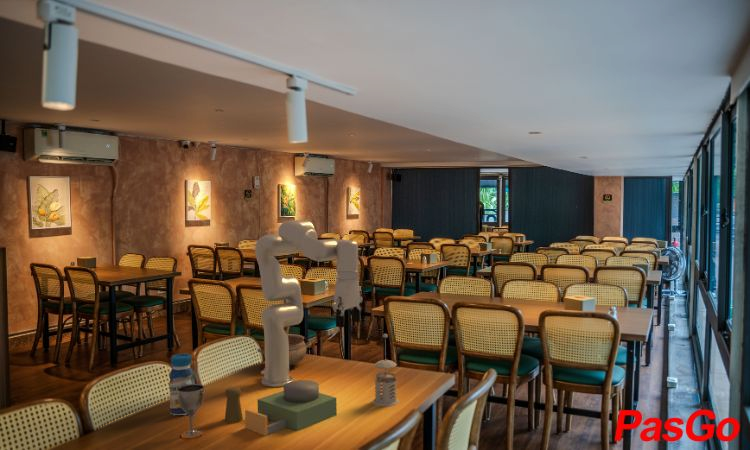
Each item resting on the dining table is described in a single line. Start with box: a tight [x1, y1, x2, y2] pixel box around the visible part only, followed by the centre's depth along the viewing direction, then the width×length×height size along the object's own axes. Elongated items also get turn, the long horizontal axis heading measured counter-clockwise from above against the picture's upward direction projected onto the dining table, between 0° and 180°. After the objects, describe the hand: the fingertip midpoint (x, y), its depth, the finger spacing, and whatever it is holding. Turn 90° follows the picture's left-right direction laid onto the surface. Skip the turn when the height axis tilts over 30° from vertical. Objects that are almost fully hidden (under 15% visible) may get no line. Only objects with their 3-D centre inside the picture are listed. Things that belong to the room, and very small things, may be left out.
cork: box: [224, 386, 244, 424], centre depth 201 cm, size 6×6×11 cm
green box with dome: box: [244, 379, 338, 437], centre depth 200 cm, size 20×27×10 cm
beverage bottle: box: [168, 353, 195, 416], centre depth 208 cm, size 8×8×20 cm
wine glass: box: [178, 383, 205, 436], centre depth 188 cm, size 8×8×15 cm
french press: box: [372, 333, 400, 407], centre depth 216 cm, size 10×12×25 cm
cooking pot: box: [257, 333, 312, 368], centre depth 265 cm, size 25×19×12 cm
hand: (348, 324), depth 210 cm, fingers open, 9 cm apart
